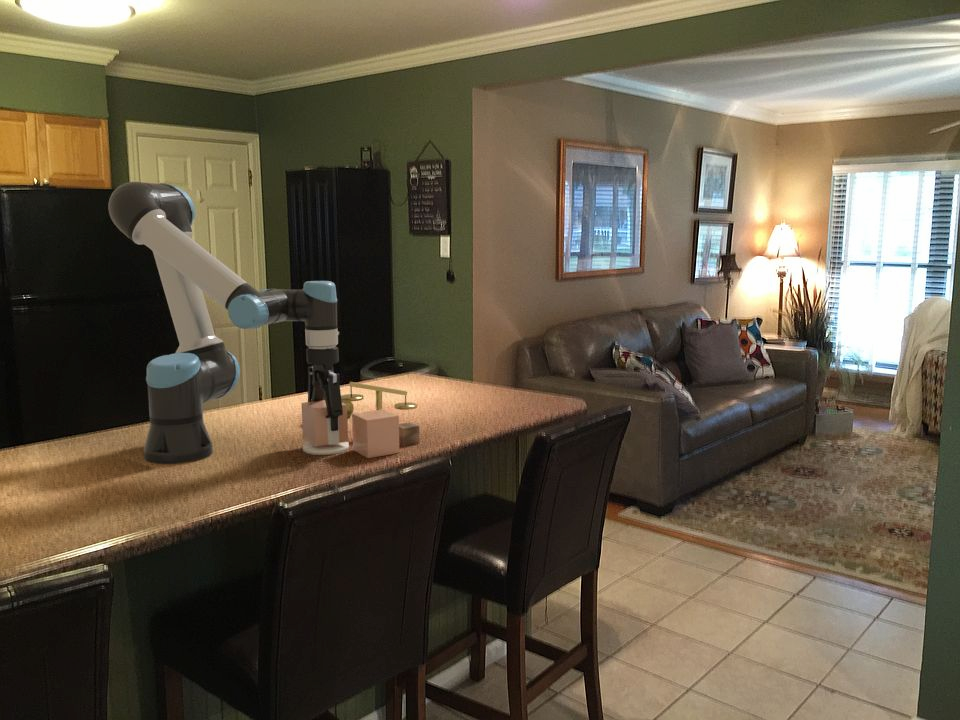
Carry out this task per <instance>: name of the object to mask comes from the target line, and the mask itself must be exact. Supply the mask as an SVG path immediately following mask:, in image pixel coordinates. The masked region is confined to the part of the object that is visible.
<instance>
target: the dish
mask: <svg viewBox="0 0 960 720" xmlns="http://www.w3.org/2000/svg"><path fill="white" fill-rule="evenodd" d="M349 449H350V443H349V441H348V442H341V443H336V444H330V445H322V446H314V445H312V444H311V443H309V442H307V441H306V442H305V443H303V444H302V451H303V453H306V454H308V455H314V456H328V455H329V456H330V455H336V454H341V453H344V452H347V451H348V450H349Z"/></svg>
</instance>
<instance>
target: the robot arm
mask: <svg viewBox="0 0 960 720" xmlns="http://www.w3.org/2000/svg"><path fill="white" fill-rule="evenodd" d="M107 204H108V205H107V206H108V213H109V216H110V220H111V221H112V222H113V224H114V225H115V226H116V228H117V229H118V230H119V231H120V232H121V233H123V234H124V235H125V236H126V237H127V238H128V239H130V240H131V241H132V242H133V243H134V244H137V245H141V246H142V245H144V246H146V248H149V249H150V250H151V251H152V254H153V257H154V260H155V264H156V268H157V270H158V274H159V277H160V281H161V285H162V287H163V291H164V292H163V293H164V294H165V298H166V301H167V305H168V309H169V312H170V317H171V318H172V322H173V326H174V330H175V332H176V336H177V340H178V343H179V346H178V347H177V349H176V350H175V353H171V354H163V355H161V356H158V357H155V358H153V359H152V360H150V361H149V362H148V363H147V366H146V376H145V381H146V387H147V400H148V413H149V429H148V432H147V435H146V440H145V443H144V446H143V456H144V457H143V458H144V460H145V461H146V462H148V463H152V464H162V465H165V464H166V465H171V464H173V465H174V464H184V463H190V462H191V463H192V462H195V461H196V462H197V461H199V460H203V459H206V458H207V457H209V456H211V455H212V454H213V451H214V450H213V448H214V447H213V442H212V439H211V436H210V435H209V432H208V430H207V427H206V425H205V423H204V417H203V415H204V414H203V404H204V403H207V402H210V401H213V400H217V399H220V398H223V397H224V396H226V395H227V394H229V393H231V392H233V390H234V389H235V388H236V386H237V384H238V383H239V380H240V377H241V376H240V375H241V368H240V364H239V360H238V359H237V358H236V356H235V355H234V354H232V353H231V352H230V351H229V350H226V347H225V343H224V340H223V339H221V338H219V337H217V336H216V334H215V332H214V327H213V324H212V323H213V322H212V320H211V316H210V314H209V310H208V307H207V303H206V299H205V296H204V292H205V293H206V295H208V296H209V297H210V298H211V299H213V300H214V301H215V302H217V303H219V305H220V306H221V307H223V308H224V309H226V310H227V313H228V317H229V319H230V322H231V323H232V324H233V325H234V326H235V327H237V328H240V329H242V330H247V329H248V330H252V329H258V328H260V327H264V326H267V325H272V324H277V323H281V322H304V326H305V329H304V333H305V337H304V338H305V345H306V346H307V348H306V349H305V350H306V352H305V353H306V362H307V364H308V365H312V366H307V374H308V378H307V380H308V382H307V385H308V387H307V402H312V401H321V400H323V396H324V397H325V402H326V407H327V412H328V415H327V416H325V417H326V418H327V443H328V445H330V444H336V443H339V418H338V417H339V416H340V415H343V410H342V401H341V395H342V393H341V385H340V380H341V378H340V377H341V375H340V373H339V372H338V373H335V371H334V364H337V363H339V361H340V359H339V358H340V355H339V354H340V353H339V352H340V351H339V347H338V346H337V345H338V344H339V335H340V331H338V328H339V327H338V298H337V288H336V284H335V282H332V281H329V280H310V281H309V280H308V281H305V282H304V283H303V288H302V289H285V288H284V289H281V288H279V289H278V288H267V289H261V290H257V289H255V288H254V287H253V286H252V285H250V284H249V283H248V282H247V281H246V280H244V279H243V278H242V277H241V276H239V275H238V274H237V273H235V271H233V270H232V269H230V268H229V267H228V266H227V265H226V264H224V263H223V262H222V261H220V260H219V259H218V258H216V257H215V256H214V255H213V254H211V253H210V252H209V251H208V250H206V249H205V248H204V247H202V246H201V245H200V244H199V243H197V242H196V241H195V240H194V239H192V238H191V237H192V236H193V229H192V227H191V226H192V225H193V224H194V219H196V218H195V217H196V210H195V205H194V202H193V200H192V198H191V197H190V195H189V194H188V193H187V192H186V191H185V190H183V189H182V188H180V187H178V186H175V185H172V184H169V183H163V182H160V183H156V182H153V183H152V182H142V181H129V182H125V183H122V184H121V185H119V186H117V188H115V189H114V190H113V192H112V193H111V195H110V197H109V201H108V203H107Z"/></svg>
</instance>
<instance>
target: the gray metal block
mask: <svg viewBox="0 0 960 720" xmlns="http://www.w3.org/2000/svg"><path fill="white" fill-rule="evenodd" d="M417 444H420V425H418V424H416V423H413V422H404V423H399V446H403V447H405V446H411V445H417Z"/></svg>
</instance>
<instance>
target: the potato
mask: <svg viewBox="0 0 960 720" xmlns="http://www.w3.org/2000/svg"><path fill="white" fill-rule="evenodd" d="M323 400H325V397H324V396H323ZM342 403H344V404H346V405H347V418H349V417H350V416H351V417H352V414H353V413H354V404H353V401H342Z"/></svg>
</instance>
